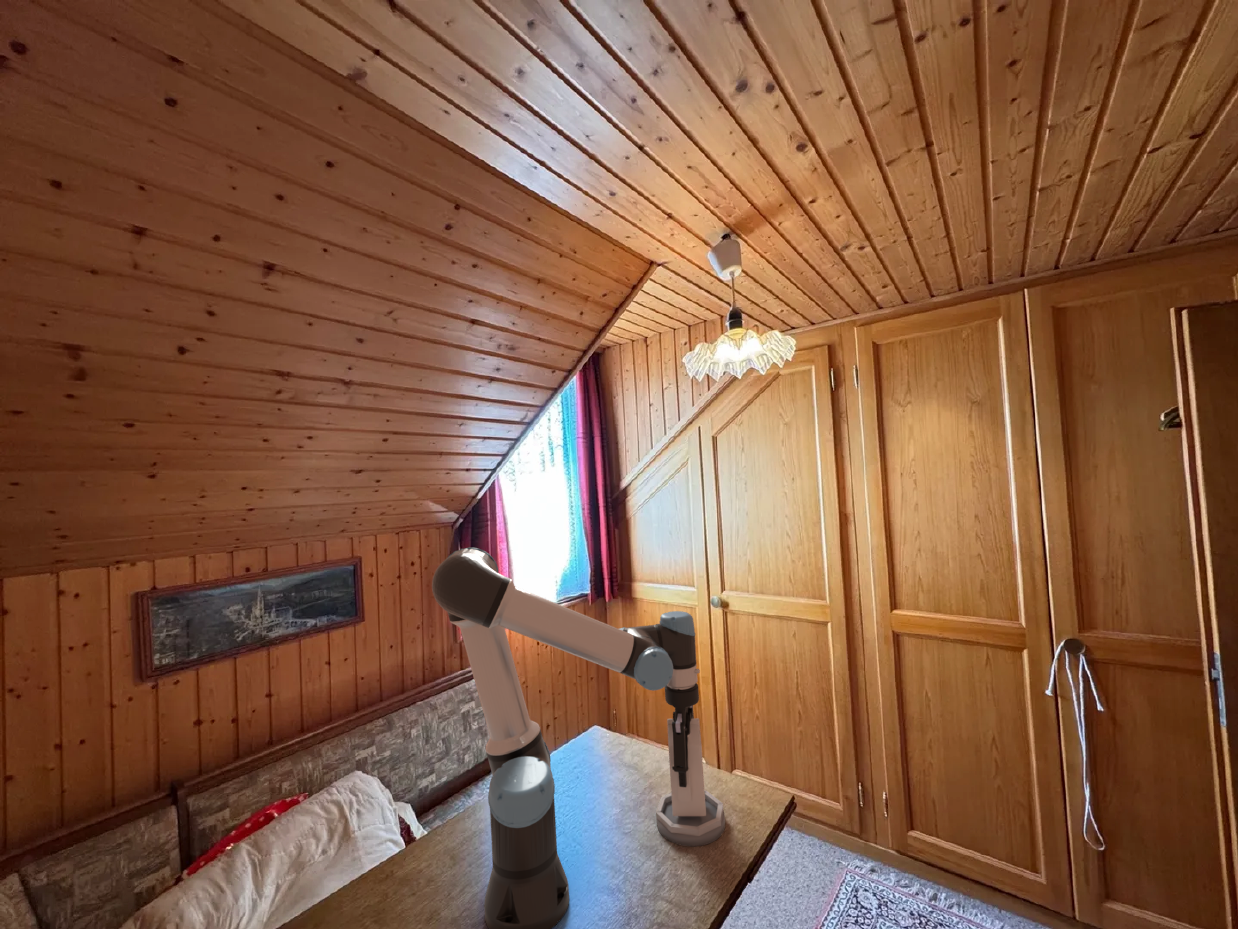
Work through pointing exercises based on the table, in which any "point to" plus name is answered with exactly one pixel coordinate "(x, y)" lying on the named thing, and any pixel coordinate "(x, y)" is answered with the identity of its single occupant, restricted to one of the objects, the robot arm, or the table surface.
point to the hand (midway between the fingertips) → (687, 788)
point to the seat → (691, 822)
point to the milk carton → (696, 773)
